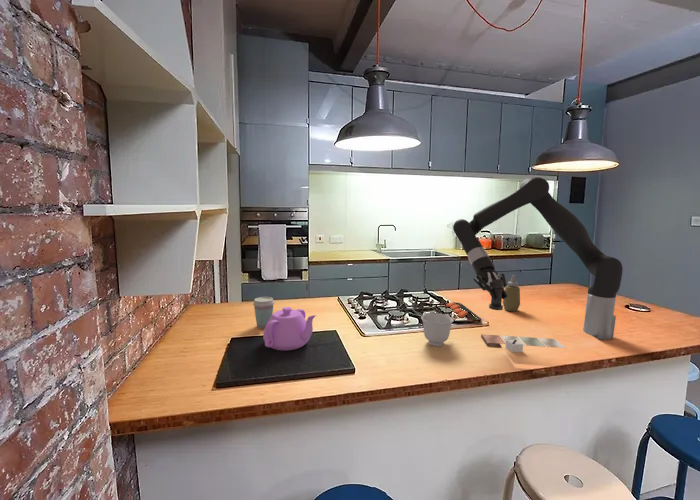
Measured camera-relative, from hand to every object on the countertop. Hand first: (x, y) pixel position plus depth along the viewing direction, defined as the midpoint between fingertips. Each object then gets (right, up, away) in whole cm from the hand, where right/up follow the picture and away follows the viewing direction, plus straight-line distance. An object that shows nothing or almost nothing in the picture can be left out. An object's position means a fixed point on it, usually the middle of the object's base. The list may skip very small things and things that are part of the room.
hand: (500, 298), depth 127 cm
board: (+9, -18, +3) cm, 20 cm away
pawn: (-1, -4, +2) cm, 5 cm away
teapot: (-78, -17, -2) cm, 80 cm away
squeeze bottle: (+25, -13, +45) cm, 53 cm away
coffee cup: (-93, -14, +16) cm, 95 cm away
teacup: (-23, -17, +3) cm, 29 cm away
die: (+2, -19, -5) cm, 20 cm away
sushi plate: (-12, -13, +38) cm, 42 cm away
